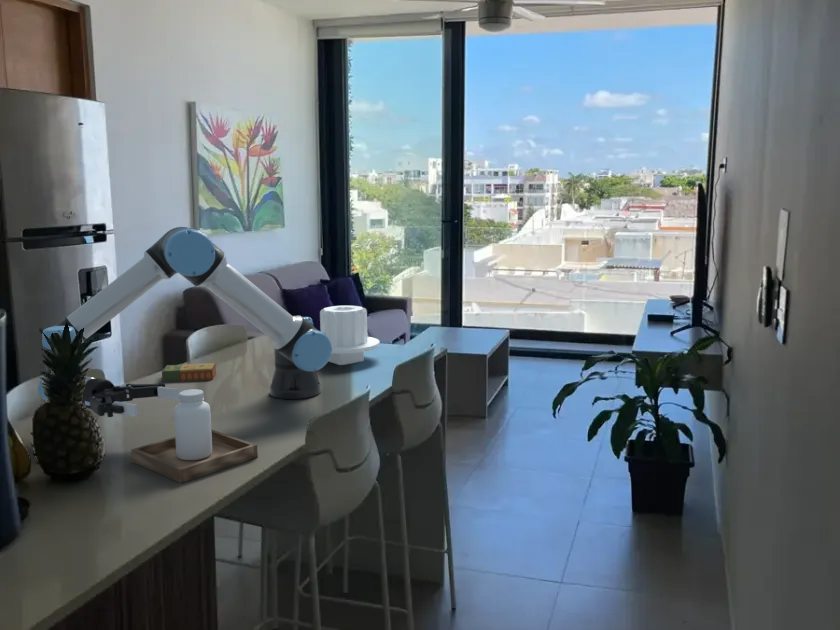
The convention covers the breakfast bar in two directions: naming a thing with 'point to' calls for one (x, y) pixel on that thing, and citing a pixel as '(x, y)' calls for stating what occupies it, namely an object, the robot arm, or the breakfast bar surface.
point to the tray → (168, 464)
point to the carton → (189, 372)
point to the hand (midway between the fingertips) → (158, 402)
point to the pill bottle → (192, 426)
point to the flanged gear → (347, 333)
